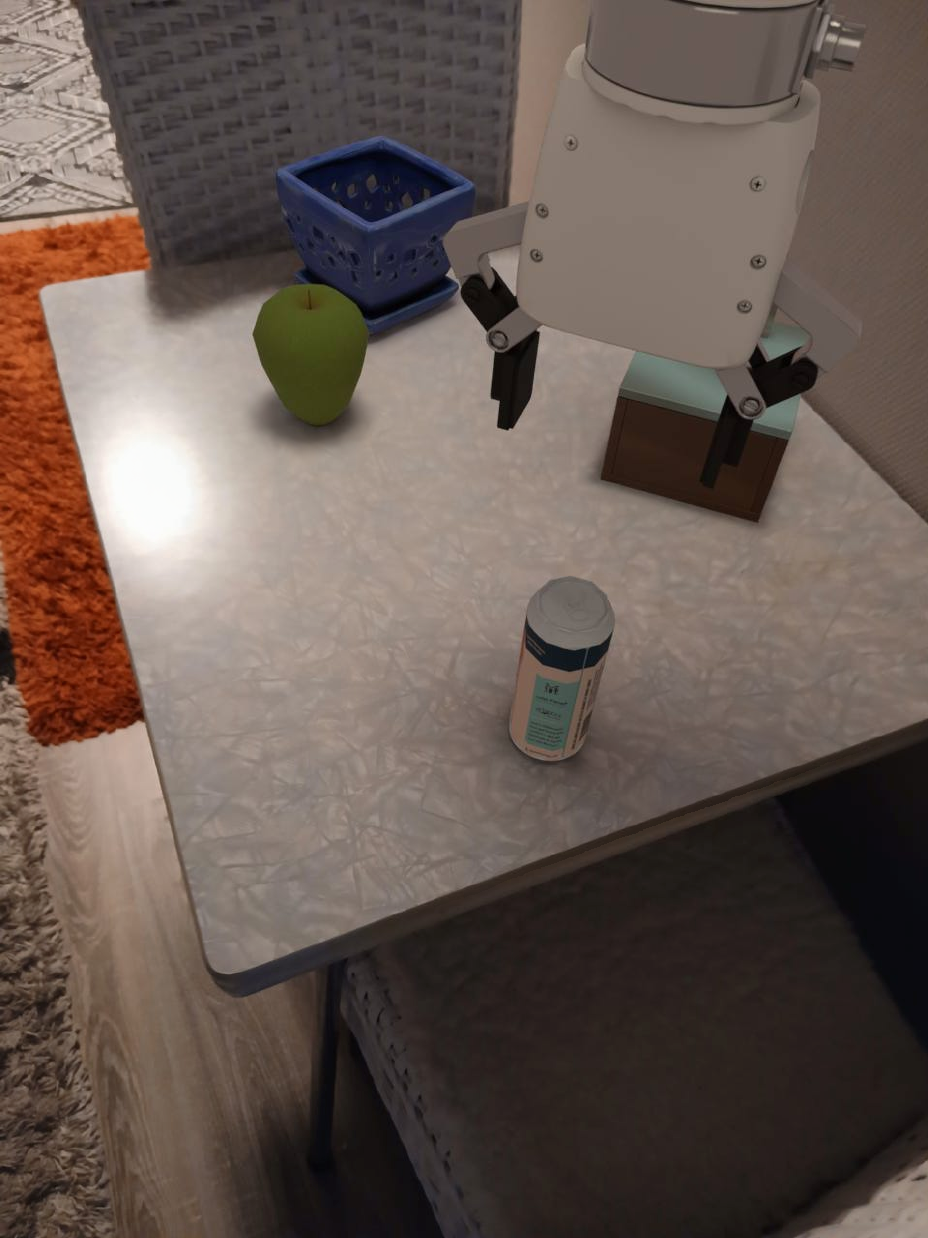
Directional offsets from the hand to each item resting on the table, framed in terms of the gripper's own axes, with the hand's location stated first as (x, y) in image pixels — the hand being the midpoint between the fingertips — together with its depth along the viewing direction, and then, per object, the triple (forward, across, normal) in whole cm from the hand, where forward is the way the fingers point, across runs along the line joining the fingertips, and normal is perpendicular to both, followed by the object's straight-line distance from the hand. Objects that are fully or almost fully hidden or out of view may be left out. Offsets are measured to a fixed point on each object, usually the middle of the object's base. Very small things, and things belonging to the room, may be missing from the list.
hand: (610, 441), depth 46 cm
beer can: (+22, 0, +2) cm, 22 cm away
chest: (+22, -3, -30) cm, 37 cm away
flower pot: (+22, +30, -40) cm, 55 cm away
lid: (+14, -3, -31) cm, 34 cm away
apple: (+22, +27, -21) cm, 41 cm away
